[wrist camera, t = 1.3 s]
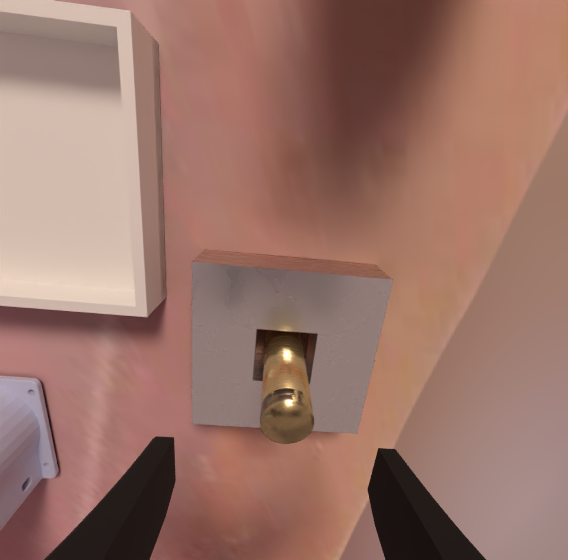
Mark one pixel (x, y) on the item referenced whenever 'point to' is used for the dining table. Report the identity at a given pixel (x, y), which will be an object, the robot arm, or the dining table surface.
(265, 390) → the pin
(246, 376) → the grey square socket block
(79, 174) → the tray
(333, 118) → the dining table surface
